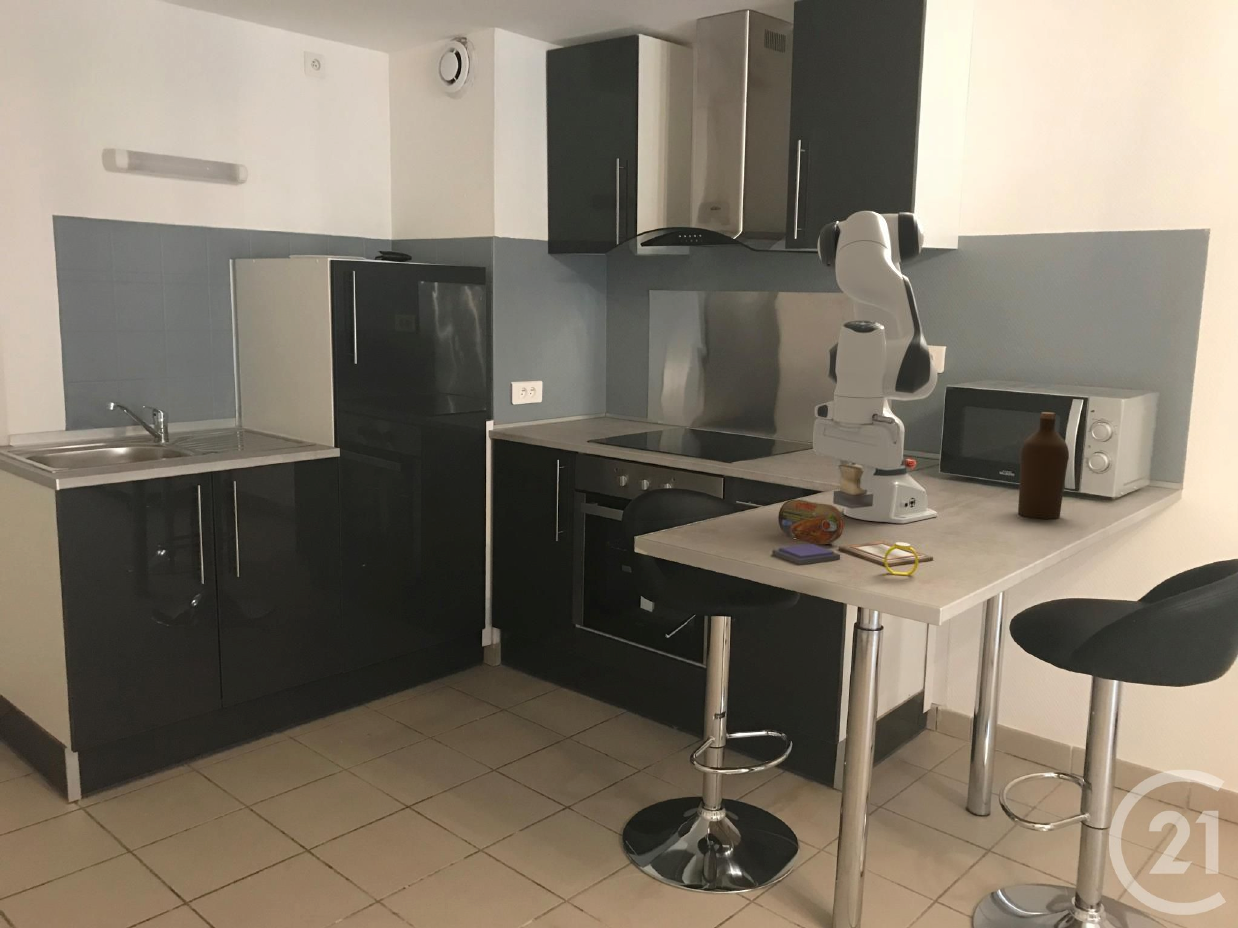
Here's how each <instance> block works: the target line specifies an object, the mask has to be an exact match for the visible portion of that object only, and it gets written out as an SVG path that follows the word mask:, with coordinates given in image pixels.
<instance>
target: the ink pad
mask: <svg viewBox="0 0 1238 928" xmlns="http://www.w3.org/2000/svg"><path fill="white" fill-rule="evenodd" d="M771 551H772V552H771V555H772V554H773V555H772V556H775V555H776V556H775V557H777V558H779V559H782V558H783V559H782V560H785V561H787V562H790V563H793V564H796V565H799V566H801V565H809V564H816V563H817V564H818V563H823V562H824V563H826V562H833V561H839V560H841V554H840V553H836V552H835V551H833V550H830V549H826V548H824V547H821V546H818V545H815V544H814V543H804V544H797V545H790V546H780V547H778V548H774V549H772V550H771Z"/></svg>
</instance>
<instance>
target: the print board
mask: <svg viewBox="0 0 1238 928" xmlns="http://www.w3.org/2000/svg"><path fill="white" fill-rule="evenodd" d="M894 545H895V544H893V543H889V542H887V541H884V540H883V541H876V542H867V543H865V542H864V543H858V544H852V545H842V546H838V547H837V548H838V549H837V550H838V551H840V552H844V553H847V554H850V555H852V556H856V557H858V558H861V559H864V560H866V561H869V562H873V563H876V564H878V565H881V566H884V567H886V566H885V563H884V558H885V554H886V552H887V551H888V549H889V548H890V547H892V546H894ZM915 552H916V554H917V556H918V563H922V562H929V561H930V562H931V561H934V557H933V556H930V555H928V554H924V553H920V552H918V551H915ZM915 563H916V557H915V555H914V554H913V552H912V551H910V550H909V549H899V548H896V549H894V550H892V551H891V552H890V553H889V555H888V556H887V565H888V567H894V566H900V565H907V564H908V565H909V564H915Z"/></svg>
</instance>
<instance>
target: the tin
mask: <svg viewBox="0 0 1238 928" xmlns="http://www.w3.org/2000/svg"><path fill="white" fill-rule="evenodd" d="M777 519H778V525H779V527H780V529H781V531H782V533H783V534H784V535H785V536H786V537H788V538H790V537H791V538H790V539H793V538H796V539H795V540H798V541H802V542H803V541H804V542H808V543H811V544H817V545H827V544H830V543H831V544H832V543H834V542H836V541H837V540H839V538H840V537H841V536H842V535H843V531H844V517H843V515H842V513H841V512H840V510H839V508H837V507H835V506H833V505H832V504H827V503H820V502H816V501H809V500H804V499H790V500H787V501H785V502H784V503H783V504H782V505H781V507H780V509H779V511H778V516H777Z"/></svg>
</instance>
